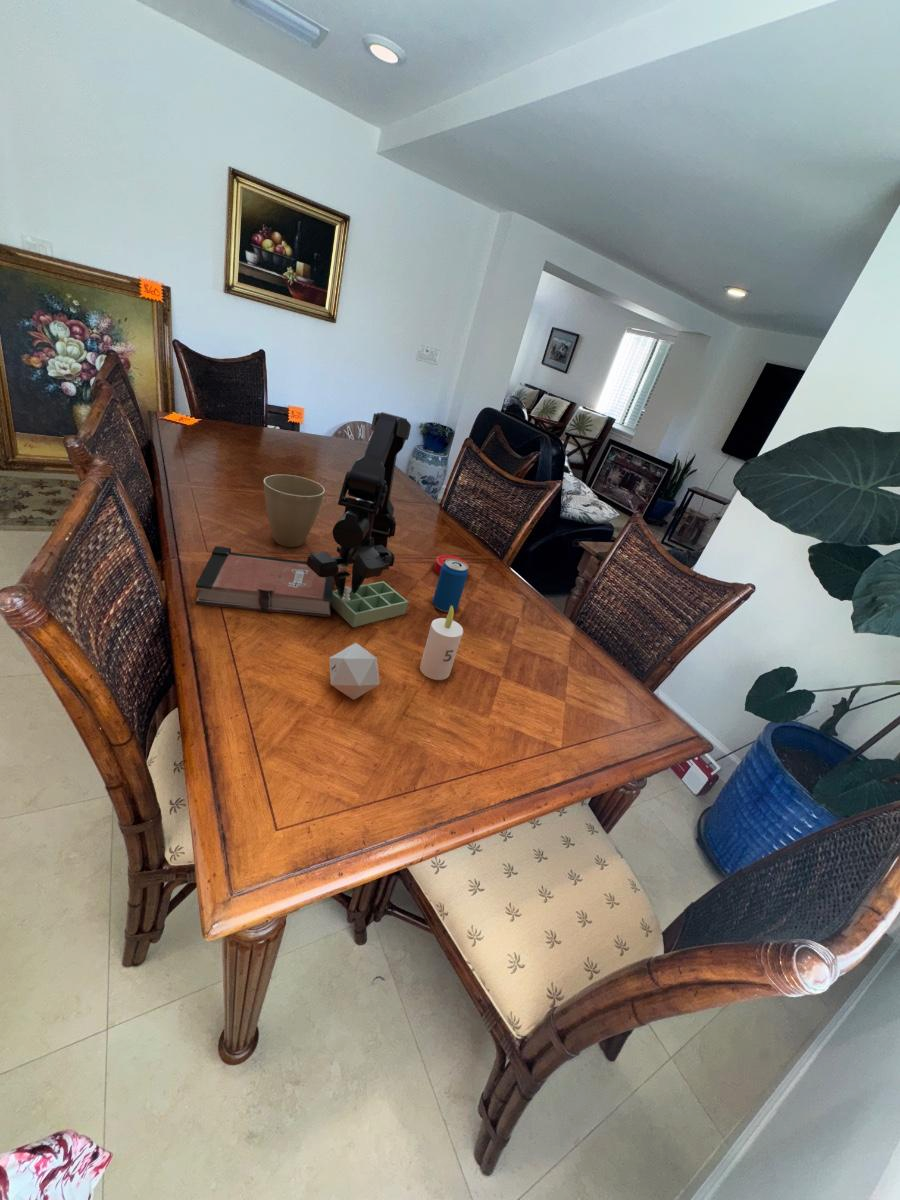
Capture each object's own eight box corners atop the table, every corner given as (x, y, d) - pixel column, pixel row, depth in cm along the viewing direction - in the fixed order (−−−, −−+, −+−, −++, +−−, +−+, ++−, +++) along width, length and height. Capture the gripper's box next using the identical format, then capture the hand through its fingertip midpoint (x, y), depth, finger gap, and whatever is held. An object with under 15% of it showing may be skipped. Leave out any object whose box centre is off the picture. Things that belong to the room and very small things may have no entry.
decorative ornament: (431, 562, 141) (433, 552, 139) (462, 566, 144) (465, 557, 142) (436, 578, 133) (439, 567, 131) (469, 582, 136) (472, 572, 134)
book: (195, 605, 96) (194, 584, 94) (215, 565, 111) (215, 546, 108) (329, 618, 103) (332, 599, 101) (331, 579, 118) (334, 561, 115)
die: (340, 668, 92) (317, 643, 84) (385, 656, 91) (366, 630, 83) (342, 710, 87) (319, 688, 79) (390, 697, 86) (371, 674, 78)
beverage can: (460, 606, 123) (472, 564, 117) (452, 616, 117) (464, 573, 111) (437, 597, 124) (448, 555, 118) (428, 607, 118) (439, 564, 112)
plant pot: (274, 556, 121) (279, 496, 113) (250, 531, 129) (253, 474, 122) (328, 551, 131) (335, 495, 123) (302, 527, 139) (308, 474, 132)
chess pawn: (352, 602, 110) (354, 583, 107) (351, 609, 108) (353, 590, 105) (340, 601, 109) (341, 582, 107) (338, 608, 107) (339, 589, 104)
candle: (426, 682, 93) (444, 618, 86) (415, 660, 98) (431, 598, 91) (455, 679, 96) (475, 617, 89) (443, 659, 101) (461, 598, 94)
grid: (328, 604, 109) (330, 591, 107) (381, 593, 118) (383, 581, 117) (352, 627, 103) (355, 614, 101) (405, 613, 113) (408, 601, 111)
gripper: (339, 552, 89) (328, 621, 96) (416, 542, 101) (401, 604, 109) (309, 526, 95) (301, 594, 102) (385, 520, 108) (373, 580, 115)
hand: (347, 593), depth 107 cm, fingers open, 3 cm apart
